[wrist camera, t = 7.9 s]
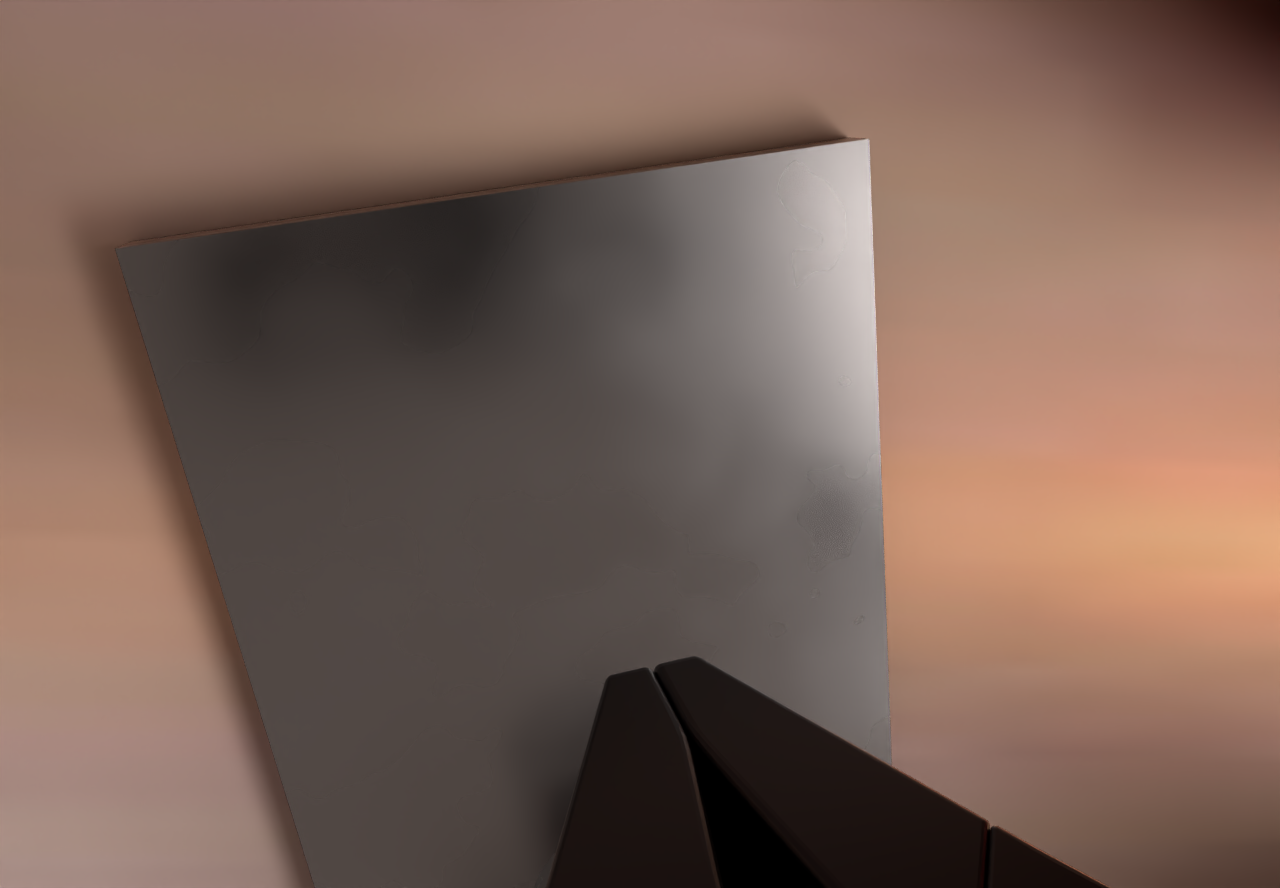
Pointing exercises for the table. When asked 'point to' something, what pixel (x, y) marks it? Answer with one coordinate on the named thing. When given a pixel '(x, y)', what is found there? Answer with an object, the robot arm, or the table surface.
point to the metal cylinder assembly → (528, 481)
